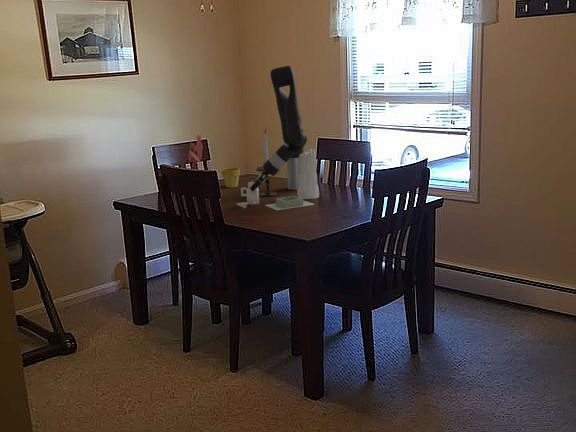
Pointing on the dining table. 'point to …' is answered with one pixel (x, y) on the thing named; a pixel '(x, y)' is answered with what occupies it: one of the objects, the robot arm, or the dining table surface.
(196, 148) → the figurine
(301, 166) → the decorative vase
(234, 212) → the dining table surface
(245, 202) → the grey mat
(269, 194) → the candlestick
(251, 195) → the cream jug
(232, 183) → the plant pot
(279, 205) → the tray
